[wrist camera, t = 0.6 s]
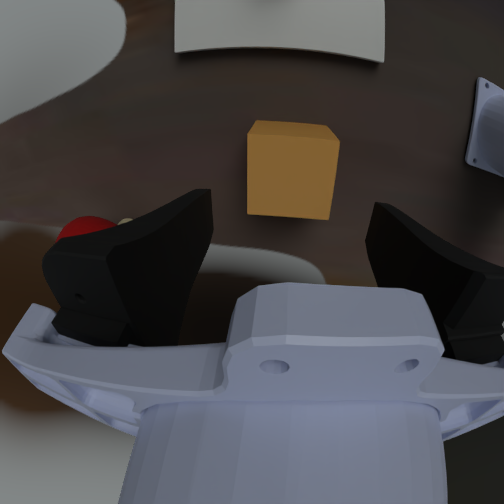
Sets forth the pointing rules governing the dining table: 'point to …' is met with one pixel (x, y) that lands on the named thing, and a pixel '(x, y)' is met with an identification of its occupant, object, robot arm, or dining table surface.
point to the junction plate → (283, 26)
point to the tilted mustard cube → (291, 169)
